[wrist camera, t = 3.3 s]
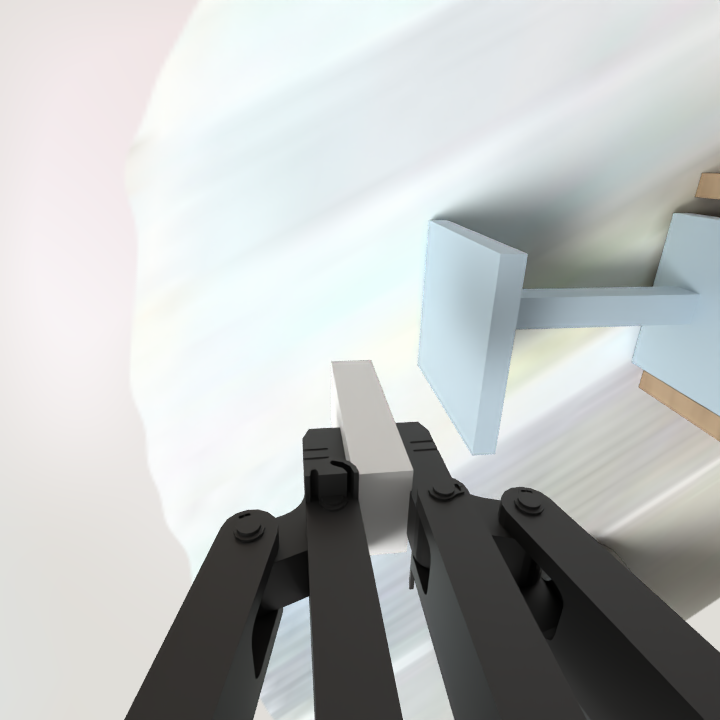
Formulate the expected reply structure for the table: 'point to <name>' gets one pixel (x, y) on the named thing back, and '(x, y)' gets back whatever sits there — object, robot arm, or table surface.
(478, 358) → the plunger
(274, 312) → the table surface
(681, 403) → the tunnel
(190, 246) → the table surface
